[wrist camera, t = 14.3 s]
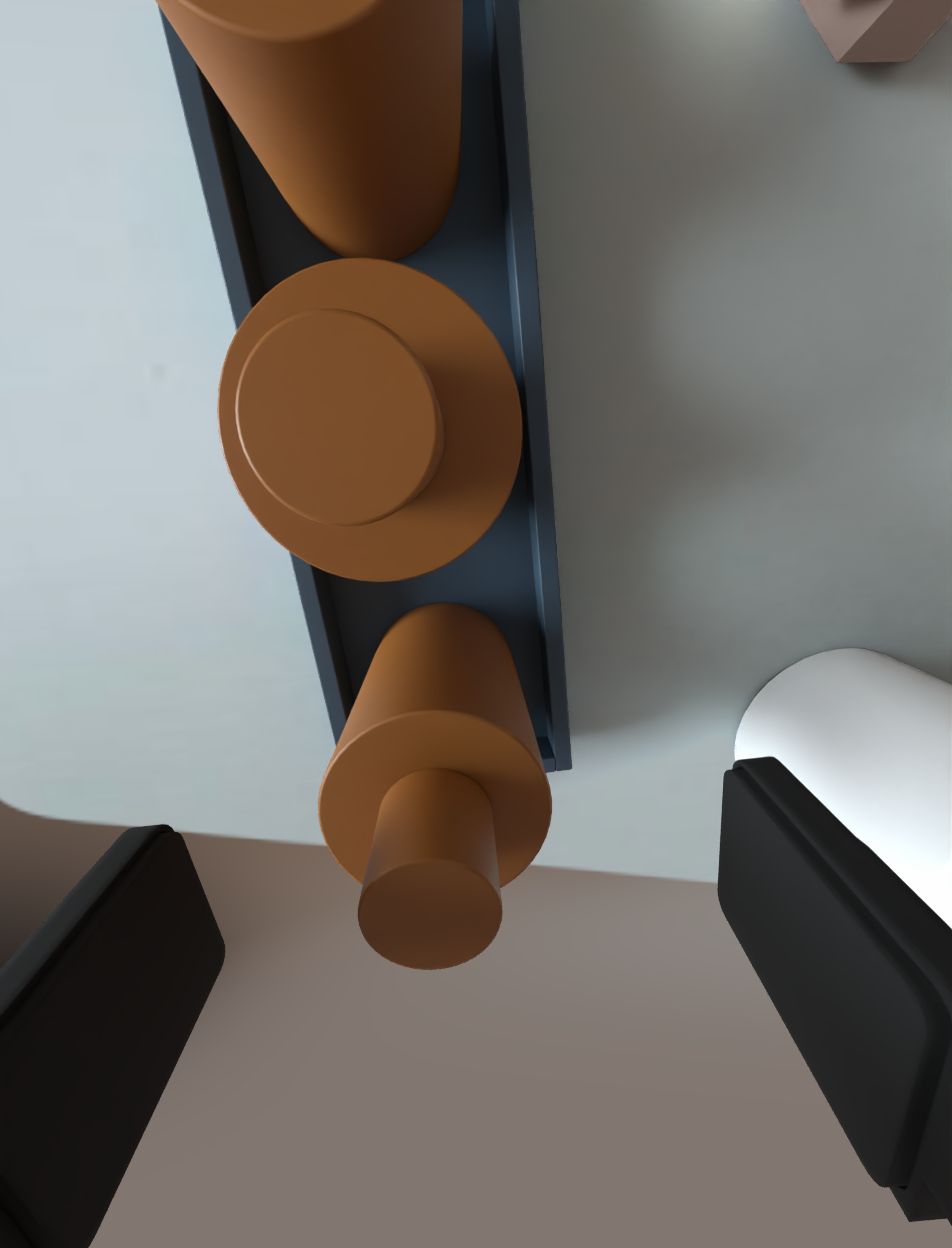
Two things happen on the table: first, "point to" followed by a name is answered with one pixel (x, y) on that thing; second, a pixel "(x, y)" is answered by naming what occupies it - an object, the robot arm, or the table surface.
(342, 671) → the tray
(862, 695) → the pill bottle
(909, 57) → the mouse figurine
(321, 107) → the tray bottle
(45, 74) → the table surface
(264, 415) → the tray bottle
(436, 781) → the amber bottle
